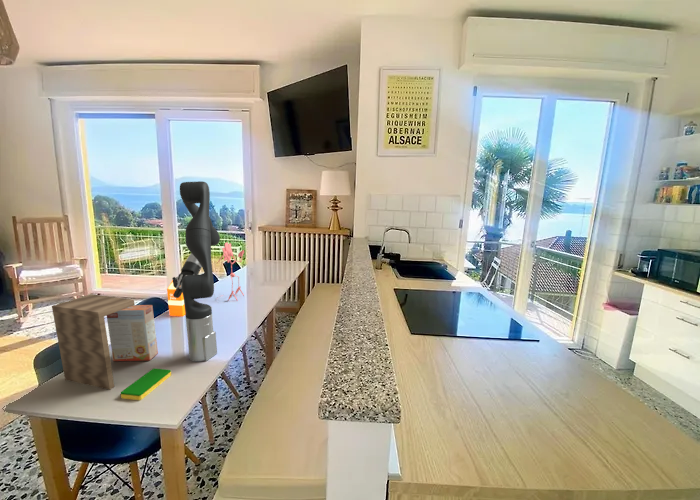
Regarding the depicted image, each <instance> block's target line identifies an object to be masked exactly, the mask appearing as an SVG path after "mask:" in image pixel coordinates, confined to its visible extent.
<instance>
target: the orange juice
mask: <svg viewBox="0 0 700 500" xmlns="http://www.w3.org/2000/svg"><path fill="white" fill-rule="evenodd" d="M166 290H167V291H166V292H167V293H166V295H167V304H168V311H169V313H168V314H169V316H170V317H171V316H172V317H185V306H184V299H183V293H182V294H181V296H180V297H179V298H175V297H173V294H174V292H175V290H176V288H175V287H174V286H173V279H172V280H171V282H170V284H169V285H168V287H167V289H166Z"/></svg>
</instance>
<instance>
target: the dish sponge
mask: <svg viewBox="0 0 700 500" xmlns="http://www.w3.org/2000/svg"><path fill="white" fill-rule="evenodd" d="M171 376H172V370H171V369H167V368H166V369H164V368H163V369H162V368H152V369H150V370H148V372H146V373H145V374H143V375H142V376H141V377H139V378H138V379H137V380H135V381H134V382H133V383H132V384H129V386H127V387H126V388H125V389H123V390H121V391H120V398H121V399H125V400H133V401H142V400H143V399H144V398H146V397H147V396H148V395H149V394H151V393H152V391H154V390H155V389H156V388H157V387H159V386H160V385H161V384H163V383H164V382H165V381H166V380H167V379H168V378H170V377H171Z"/></svg>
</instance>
